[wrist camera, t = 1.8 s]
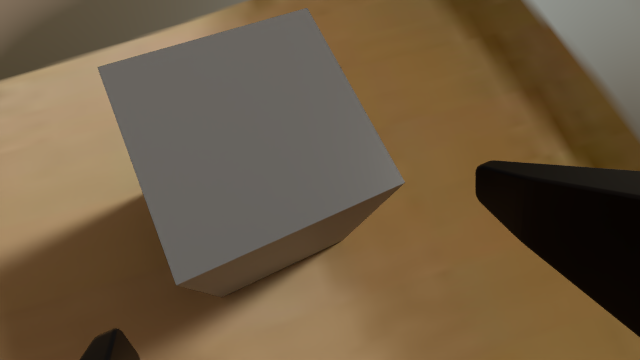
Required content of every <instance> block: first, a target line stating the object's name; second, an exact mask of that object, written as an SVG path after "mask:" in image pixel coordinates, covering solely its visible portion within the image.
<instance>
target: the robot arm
mask: <svg viewBox="0 0 640 360" xmlns="http://www.w3.org/2000/svg"><path fill="white" fill-rule="evenodd" d="M476 196H477V198H478V200H479V201H480V202H481V203H482V204H483V205H484V206H485V207H486V208H487V209H488V210H489V211H490V212H491V213H492V214H493V215H494V216H495V217H496V218H497V219H498V220H499V221H500V222H501V223H502V224H503V225H504V226H505V227H506V228H507V229H508V230H509V231H510V232H511V233H512V234H513V235H515V236H516V237H517V238H518V239H519V240H520V241H521V242H522V243H523V244H525V245H526V246H527V247H528V248H529V249H531V250H532V251H533V252H534V253H536V254H537V255H538V256H539V257H541V258H542V259H543V260H544V261H546V262H547V263H548V264H549V265H551V266H552V267H553V268H554V269H556V270H557V271H558V272H559V273H561V274H562V275H563V276H564V277H566V278H567V279H568V280H569V281H570V282H572V283H573V284H574V285H575V286H577V287H578V288H579V289H580V290H582V291H583V292H584V293H585V294H587V295H588V296H589V297H590V298H592V299H593V300H594V301H595V302H597V303H598V304H599V305H600V306H602V307H603V308H604V309H605V310H607V311H608V312H609V313H610V314H612V315H613V316H614V317H615V318H616V319H618V320H619V321H620V322H621V323H623V324H624V325H625V326H626V327H628V328H629V329H630V330H631V331H633V332H634V333H635V334H636V335H638V336H639V337H640V171H630V170H616V169H603V168H589V167H575V166H562V165H548V164H534V163H521V162H507V161H488V162H486V163H484V164H481V165H479V166H478V167H477V169H476ZM80 360H140V358H139V356H138V354H137V352H136V350H135V349H134V348H133V346H132V345H131V343H130V342H129V341H128V339H127V338H126V336H125V335H124V334H123V332H122V331H121V330H119V329H116V328H115V329H112V330H110V331H107V332H105V333H103V334H101V335H99V336H97V337H95V338H94V340H93V341H92V342H91V344H90V345H89V347H88V348H87V350H86V351H85V353H84V354H83V355H82V357H81V358H80Z"/></svg>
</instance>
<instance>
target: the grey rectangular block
mask: <svg viewBox="0 0 640 360" xmlns="http://www.w3.org/2000/svg"><path fill="white" fill-rule="evenodd" d="M98 70H99V73H100V76H101V78H102V81H103V84H104V87H105V89H106V92H107V95H108V98H109V101H110V103H111V106H112V109H113V112H114V114H115V117H116V120H117V123H118V125H119V128H120V131H121V134H122V137H123V139H124V142H125V145H126V148H127V150H128V153H129V156H130V159H131V161H132V164H133V167H134V170H135V173H136V175H137V178H138V181H139V184H140V186H141V189H142V192H143V195H144V198H145V200H146V203H147V206H148V209H149V211H150V214H151V217H152V220H153V222H154V225H155V228H156V231H157V234H158V236H159V239H160V242H161V245H162V247H163V250H164V253H165V256H166V258H167V261H168V264H169V267H170V270H171V272H172V275H173V278H174V281H175V283H176V285H177V286H181V287H184V288H188V289H192V290H196V291H200V292H203V293H207V294H211V295H215V296H219V297H224V296H226V295H228V294H230V293H232V292H234V291H236V290H239V289H241V288H243V287H245V286H247V285H249V284H251V283H253V282H256V281H258V280H260V279H262V278H264V277H266V276H268V275H270V274H272V273H275V272H277V271H279V270H281V269H283V268H285V267H287V266H289V265H292V264H294V263H296V262H298V261H300V260H302V259H304V258H306V257H308V256H311V255H313V254H315V253H317V252H319V251H321V250H323V249H325V248H327V247H330V246H332V245H334V244H336V243H338V242H340V241H342V240H343V239H345V238H346V237H347V236H348V235H349V234H350V233H351V232H352V231H353V230H354V229H355V228H356V227H358V226H359V225H360V224H361V223H362V222H363V221H364V220H365V219H366V218H367V217H368V216H369V215H370V214H372V213H373V212H374V211H375V210H376V209H377V208H378V207H379V206H380V205H381V204H382V203H383V202H385V201H386V200H387V199H388V198H389V197H390V196H391V195H392V194H393V193H394V192H395V191H396V190H398V189H399V188H400V187H401V186H402V185H403V184H404V183H405V182H404V180H403V178H402V176H401V175H400V173H399V171H398V169H397V167H396V166H395V164H394V162H393V160H392V159H391V157H390V155H389V153H388V151H387V150H386V148H385V146H384V144H383V142H382V141H381V139H380V137H379V135H378V134H377V132H376V130H375V128H374V126H373V125H372V123H371V121H370V119H369V117H368V116H367V114H366V112H365V110H364V109H363V107H362V105H361V103H360V101H359V100H358V98H357V96H356V94H355V92H354V91H353V89H352V87H351V85H350V84H349V82H348V80H347V78H346V76H345V75H344V73H343V71H342V69H341V67H340V66H339V64H338V62H337V60H336V59H335V57H334V55H333V53H332V51H331V50H330V48H329V46H328V44H327V42H326V41H325V39H324V37H323V35H322V34H321V32H320V30H319V28H318V26H317V25H316V23H315V21H314V19H313V18H312V16H311V14H310V12H309V10H308V9H307V8H305V9H302V10H298V11H295V12H291V13H288V14H284V15H281V16H277V17H273V18H270V19H266V20H263V21H259V22H256V23H252V24H249V25H245V26H242V27H238V28H234V29H231V30H227V31H224V32H220V33H217V34H213V35H210V36H206V37H203V38H199V39H196V40H192V41H188V42H185V43H181V44H178V45H174V46H171V47H167V48H164V49H160V50H157V51H153V52H149V53H146V54H142V55H139V56H135V57H132V58H128V59H125V60H121V61H118V62H114V63H111V64H107V65H103V66H100V67H98Z"/></svg>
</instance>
